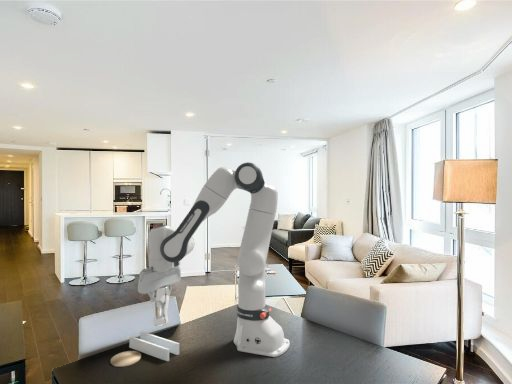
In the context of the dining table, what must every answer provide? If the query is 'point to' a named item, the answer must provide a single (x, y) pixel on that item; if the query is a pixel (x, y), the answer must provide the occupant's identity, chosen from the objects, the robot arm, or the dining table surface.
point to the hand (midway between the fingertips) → (160, 298)
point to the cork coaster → (125, 358)
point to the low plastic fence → (154, 345)
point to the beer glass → (161, 306)
